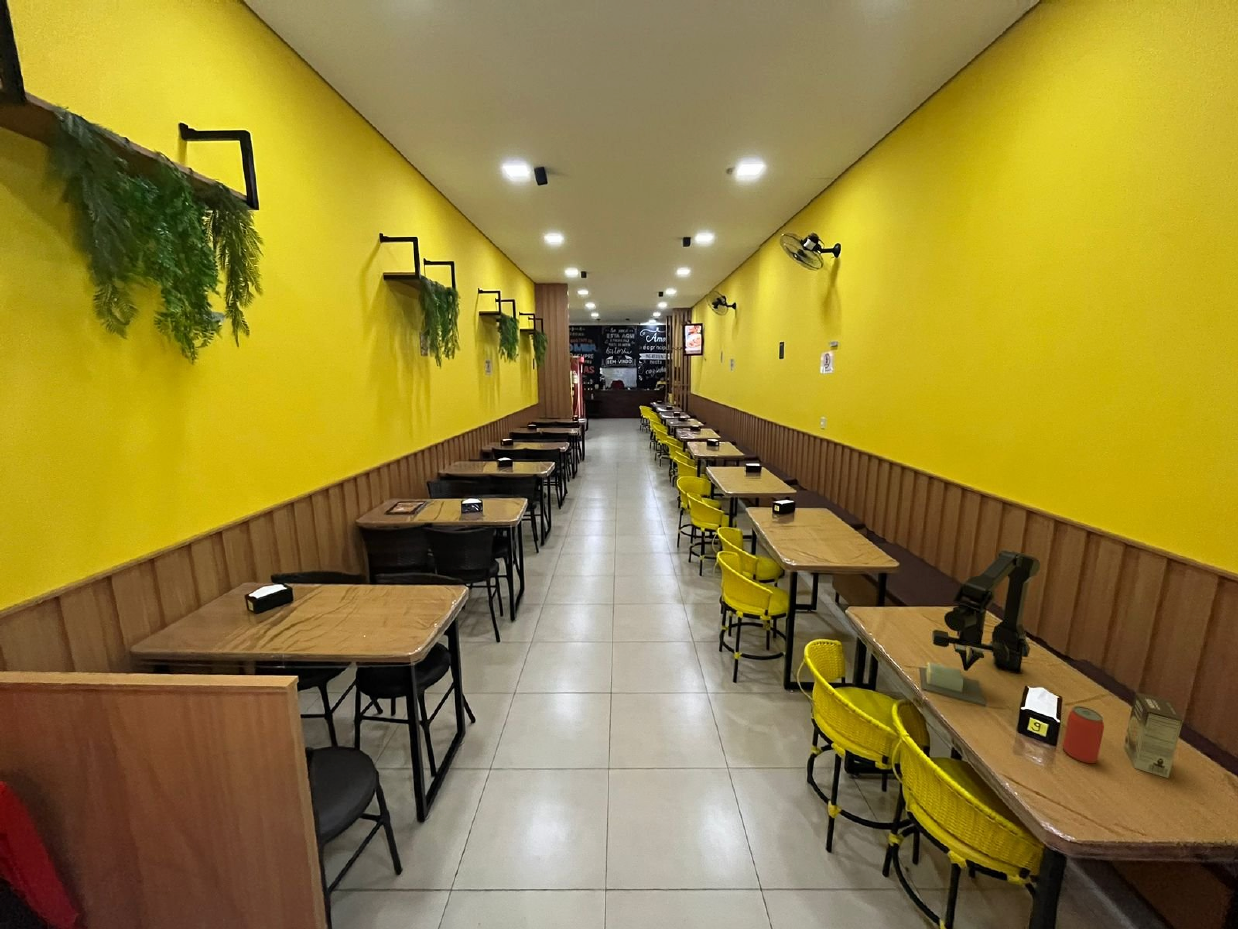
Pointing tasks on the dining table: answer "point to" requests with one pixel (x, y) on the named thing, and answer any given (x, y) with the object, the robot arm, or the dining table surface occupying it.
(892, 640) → the dining table surface
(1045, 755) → the dining table surface
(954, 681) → the pale green block
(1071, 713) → the beer can
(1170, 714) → the coffee box
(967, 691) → the mat
